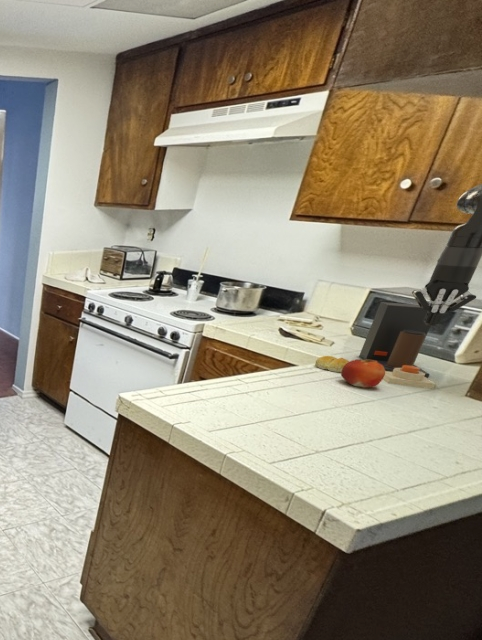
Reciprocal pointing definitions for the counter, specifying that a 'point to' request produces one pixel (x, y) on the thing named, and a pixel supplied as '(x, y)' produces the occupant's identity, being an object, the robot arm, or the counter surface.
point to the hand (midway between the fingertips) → (429, 325)
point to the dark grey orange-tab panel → (392, 330)
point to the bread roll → (331, 363)
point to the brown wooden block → (406, 348)
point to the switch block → (408, 378)
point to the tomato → (363, 373)
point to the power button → (410, 369)
